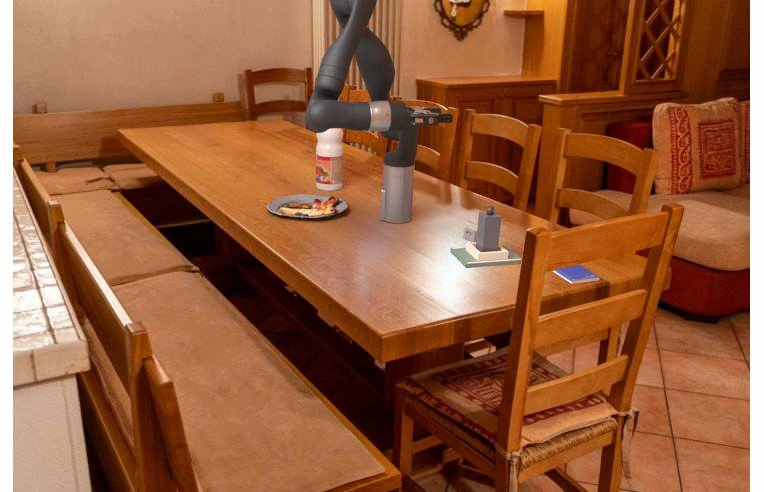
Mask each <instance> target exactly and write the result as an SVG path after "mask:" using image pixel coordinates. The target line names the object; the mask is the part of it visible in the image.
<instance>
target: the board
mask: <svg viewBox="0 0 764 492" xmlns="http://www.w3.org/2000/svg"><path fill="white" fill-rule="evenodd" d="M449 252H451V253H452V254H453V255H454V256H455V257H456V258H457V259H458V260H459V261H460V262H461V263H460V262H459V261H458V260H457V259H456V260H457V261H458V262H459V263H460V264H461V265H462V266H463V267H464V268H465V269H467V268H468V269H469V268H478V267H479V268H480V267H481V268H482V266H483V267H493V265H496V266H503V265H502V264H510V265H516V264H515V263H518V264H517V265H520V264H521V259H523V258H521V257H520V256H519V255H518V254H517V253H515V252H514V251H513V250H512V249H510V248H509V246H507V245H505V244H504V245H501V244H499V246H498V251H494V252H480V251H478V250H477V249H476V242H466V243H465V247H460V248H450V251H449ZM451 253H450V254H451ZM452 254H451V255H452ZM453 255H452V256H453ZM454 256H453V257H454ZM455 257H454V258H455ZM519 263H520V264H519ZM521 265H522V264H521Z"/></svg>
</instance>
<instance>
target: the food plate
mask: <svg viewBox="0 0 764 492" xmlns="http://www.w3.org/2000/svg"><path fill="white" fill-rule="evenodd" d="M266 208H267V210H268V211H269V212H271V213H273V214H276V215H277V216H278V215H279V216H286V217H289V218H301V219H304V218H309V219H311V218H312V219H322V218H327V217H333V216H336V215H340V214H342V213H343V212H345V211H346V210H347V209H349V208H350V205H349V203H348V202H347V201H346V200H345V199H342V198H341V197H335V196H334V195H324V194H312V193H311V194H310V193H309V194H308V193H302V194H300V193H299V194H292V195H287V196H284V195H283V196H280V197H276V198H275V199H272V200H271V201H270V202H269V203H267V204H266Z"/></svg>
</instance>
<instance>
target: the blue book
mask: <svg viewBox="0 0 764 492" xmlns="http://www.w3.org/2000/svg"><path fill="white" fill-rule="evenodd" d="M552 272H553V273H554V274H556V275H558V276H559V277H561V278H562V279H564V280H565V281H566V282H568V283H570V284H571V285H572V284H573V285H574V284H575V285H576V284H581V283H589V282H597V281H600V280H601V277H600V276H599V275H597V274H596V273H594V272H592V271H591V270H588V268H585V267H583V266H581V265H580V264H579V265H576V266H571V267H566V268H561V269H557V270H554V271H552Z"/></svg>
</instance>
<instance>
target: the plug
mask: <svg viewBox="0 0 764 492" xmlns="http://www.w3.org/2000/svg"><path fill="white" fill-rule="evenodd" d="M477 224H478V228H477V239H476V249H477V250H478V251H480V252H494V251H498V246H499V243H500V235H501V225H502V216H501V215H500V214H498V213H497V212H496V211H495V206H493V205H487V206H486V211H478V219H477Z"/></svg>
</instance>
